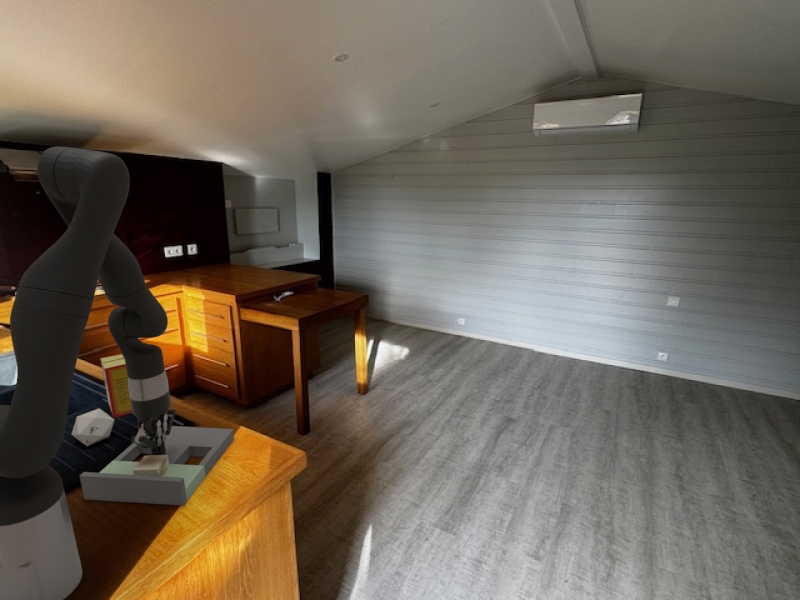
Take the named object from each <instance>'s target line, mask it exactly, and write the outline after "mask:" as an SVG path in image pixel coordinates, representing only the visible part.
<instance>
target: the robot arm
mask: <svg viewBox="0 0 800 600" xmlns="http://www.w3.org/2000/svg"><path fill="white" fill-rule="evenodd" d="M36 170H37V177H38V181H39V183H40V184H41V187H42V189H43V191H44V192H45V194H46V196H47V197H48V199H49V200H50V201H51V203H52V204H53V206H54V208H55V209H56V211H57V212H58V213H59V215H60V216H61V218H62V220H63V221H64V222H65V225H66V226H67V227H68V228H67V229H66V230H65V232H64V233H63V234H62V235H61V237H60V238H59V239H58V240H57V241H56V242H55V243H53V245H51V246H50V247H48V248H47V250H45V251H44V253H42V254H41V255H40V256H39V257H38V258H37V259H36V260H35V261H34V262H33V263H32V264H31V265H30V266H29V267H28V268H27V270H25V271H24V273H23V275H22V277H21V279H20V282H19V284H18V287H17V291H16V294H15V297H14V301H13V302H12V303H13V304H12V307H11V310H10V315H9V316H10V318H9V330H10V336H11V338H10V339H11V342H12V348H13V353H14V357H15V362H16V371H17V372H16V373H17V374H16V375H17V376H16V384H15V388H14V392H13V396H12V399H11V403H10V405H9V404H0V600H65V599H66V598H68V597H69V595H71V594H72V593H73V592H74V591H75V589H76V588H77V587H78V586H79V584H80V582H81V580H82V577H83V569H82V568H83V567H82V563H81V559H80V554H79V550H78V545H77V542H76V538H75V537H76V536H75V533H74V527H73V523H72V519H71V515H70V510H69V506H68V501H67V496H66V492H65V488H64V483H63V481H62V477H61V475H60V474H59V472H57V470H55V469H54V468H53V467H51V465H50V463H51V462H52V461H53V458H54V457H55V456H56V455H57V453H58V450H59V449H60V446H61V444H62V442H63V438H64V435H65V430H66V424H67V419H68V418H67V417H68V411H69V403H70V396H71V391H72V390H71V389H72V384H73V383H72V382H73V377H74V373H75V370H76V366H77V361H78V357H79V354H80V349H81V345H82V340H83V337H84V333H85V329H86V327H87V324H88V321H89V317H90V314H91V311H92V306H93V304H94V299H95V295H96V290H97V286H98V281H99V282H100V284H101V287H102V289H103V292H104V294H105V297H106V298H107V300H108V301H109V302H110V303H111V304H112V305H115V306H116V307H114V308H113V309H112V310H111V311H110V313H109V315H108V319H107V326H108V327H107V328H108V330H109V333H110V334H111V337H112V339H113V340H114V343H115V344H116V345H117V347H118V349H119V352H120V353H121V354H122V355H123V357H124V359H125V363H126V370H127V375H128V390H129V395H130V401H131V407H132V413H131V414H132V415H133V416H135V417H136V418H137V429H138V432H137V434H136V435H132V436H131V438H130V441H131V443H132V444H133V443H135V444H137V445H139V446H140V447H142V448H150V449H151V452H152V454H151V455H166V452H165V451H166V449H165V440H166V435H169V434H170V431H171V427H172V426H173V423H174V420H175V414H176V409H172V408H171V406H172V401H171V395H170V387H169V380H168V376H167V373H166V369H165V368H166V367H165V362H164V354H163V350H162V347H160V346H159V345H156V344H151V343H146V342H143V341H141V340H140V339H146V338H147V339H148V338H149V339H150V338H158V337H160V336H162V335H163V334H164V333H165V332H166V331H167V328H168V325H169V324H168V322H169V318H168V315H167V312H166V310H165V309H164V307H163V305H162V303H161V302H159V301H158V299H157V298H156V297H155V295H154V294H153V293H152V292H151V290H150V289H149V287H148V286H147V283H146V281H145V278H144V274H143V272H142V269H141V266H140V264H139V262H138V260H137V258H136V257H135V255H134V253H132V251H131V250H130V249H129V247H127V246H126V245H125V243H124V242H122V241H121V239H120V238H119V237H117V235H115V233H114V232H115V230H116V227H117V225H118V222H119V220H120V218H121V215H122V213H123V210H124V207H125V205H126V202H127V201H128V200H127V199H128V195H129V191H130V181H131V179H130V177H131V176H130V171H129V169H128V166H127V165H126V163H125V162H124V160H123V159H122V158H121V157H120V156H118V155H116V154H114V153H109V152H104V151H99V150H93V149H87V148H86V149H85V148H76V147H70V146H52V147H48V148H47V149H45V150H44V151H43V152H42V153H41V155H40V156H39V158H38V160H37V165H36Z"/></svg>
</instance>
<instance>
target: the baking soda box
mask: <svg viewBox="0 0 800 600" xmlns="http://www.w3.org/2000/svg"><path fill="white" fill-rule="evenodd" d="M99 359H100V364H101V369H102V376H103V379H104V380H103V382H104V387H105V391H106V397H107V403H108V407H109V410H110V412H111V415H112V418H113V419H115V418H118V417H123V416H126V415H130V414H131V413H130V412H132V407H131V401H130V395H129V390H128V375H127V370H126V363H125V359H124V357H123V355H122V353H121V354H113V355H109V356H105V357H104V356H103V357H100V358H99ZM129 413H130V414H129Z"/></svg>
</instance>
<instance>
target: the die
mask: <svg viewBox="0 0 800 600" xmlns="http://www.w3.org/2000/svg"><path fill="white" fill-rule="evenodd" d="M114 422H115V418H113V417H111V415H109V414H108V413H106V412H105V411H103V410H102V409H101V408H96V409H94V410H91V411H87V412H86V413H83V414H80V415H77V416H76V418H75V423H74V425H73V427H72V431H71V436H73V437H74V438H75V439H77V440H78V441H79V442H81V443H82V444H83V445H85V446H86V447H89V446H91V445H94V444H95V443H98V442H101V441H103V440H105V439H108V438H110V435H111V432H112V429H113V426H114Z"/></svg>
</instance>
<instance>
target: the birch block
mask: <svg viewBox="0 0 800 600" xmlns="http://www.w3.org/2000/svg"><path fill="white" fill-rule="evenodd" d="M138 462H139V463H138V465H137V466H136V467H135V468H134V470H133V473H134V475H144V476H161V477H162V476H163V474H164V473H165V472H166V470H167V469H168V467H169V460H168V455H152V454H148V455H144V456H143V457H142V459H141V460H140V461H138Z"/></svg>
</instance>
